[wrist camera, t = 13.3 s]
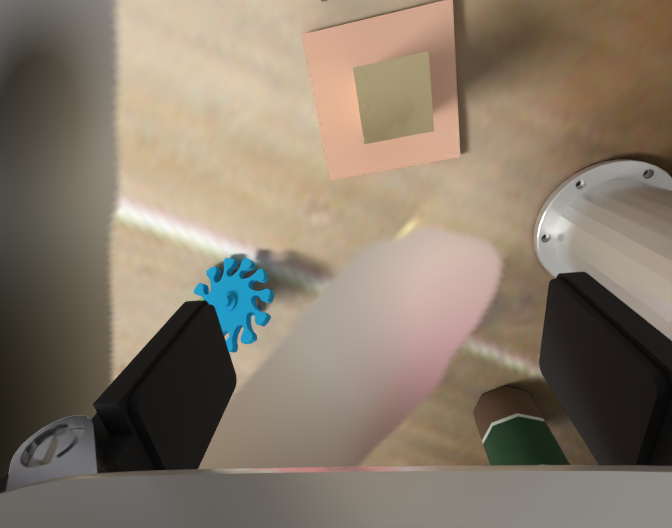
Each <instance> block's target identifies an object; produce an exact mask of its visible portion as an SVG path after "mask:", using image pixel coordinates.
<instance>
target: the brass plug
mask: <svg viewBox="0 0 672 528" xmlns="http://www.w3.org/2000/svg"><path fill="white" fill-rule="evenodd" d="M353 72H354V78H355V85H356V92H357V99H358V105H359V112H360V119H361V126H362V132H363V139H364V144H369V143H374V142H379V141H385V140H390V139H395V138H401V137H406V136H411V135H417V134H422V133H427V132H433V131H434V121H433V107H432V93H431V80H430V66H429V52H428V51H427V52H422V53H418V54H413V55H409V56H404V57H400V58H395V59H390V60H386V61H381V62H377V63H372V64H368V65H363V66H358V67H354V68H353Z"/></svg>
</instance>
